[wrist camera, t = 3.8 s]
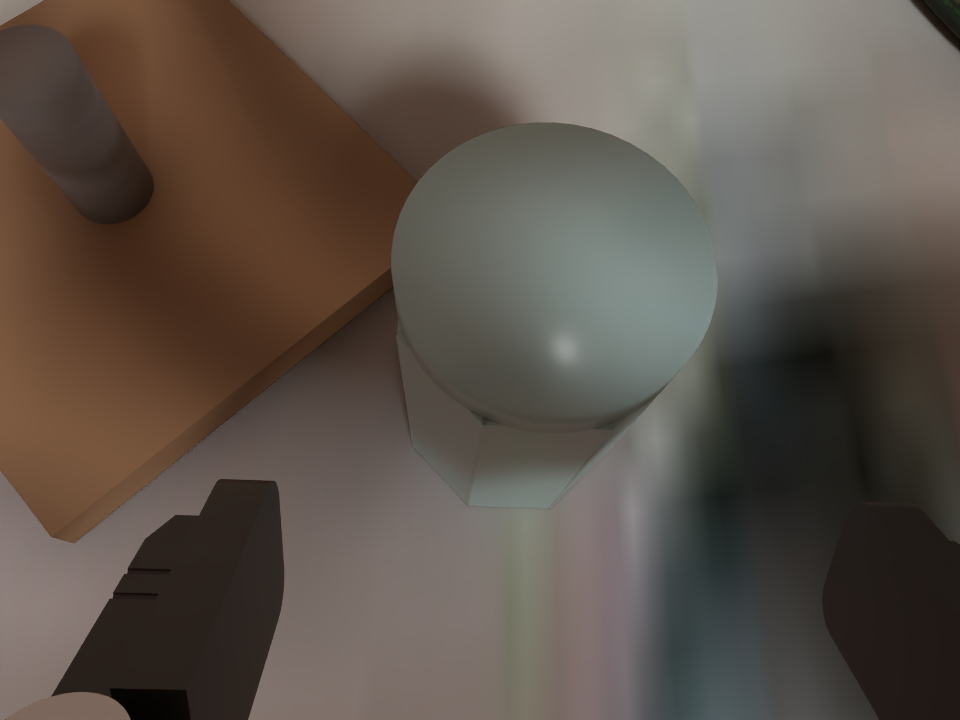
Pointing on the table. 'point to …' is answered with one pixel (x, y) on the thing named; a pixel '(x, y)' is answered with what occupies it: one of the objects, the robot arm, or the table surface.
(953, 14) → the coffee jar
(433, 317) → the grey canister
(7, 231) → the post stand
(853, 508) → the robot arm
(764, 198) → the table surface
